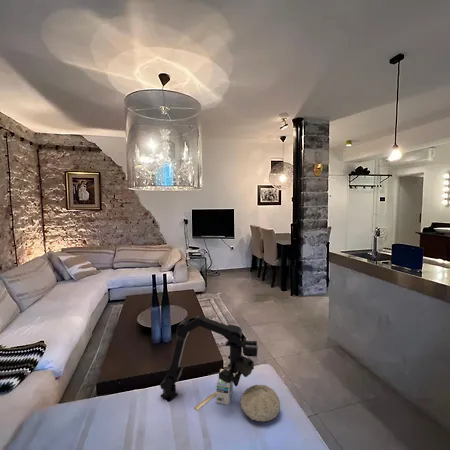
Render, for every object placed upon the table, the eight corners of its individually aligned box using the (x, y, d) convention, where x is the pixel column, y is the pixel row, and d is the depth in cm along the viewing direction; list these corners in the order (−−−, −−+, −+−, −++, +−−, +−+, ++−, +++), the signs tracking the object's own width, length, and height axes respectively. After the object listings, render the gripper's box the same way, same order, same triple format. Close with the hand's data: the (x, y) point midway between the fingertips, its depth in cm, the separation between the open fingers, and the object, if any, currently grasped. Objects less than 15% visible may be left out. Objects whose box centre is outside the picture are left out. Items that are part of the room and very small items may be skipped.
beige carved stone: (247, 431, 115) (247, 408, 114) (236, 402, 132) (235, 382, 131) (286, 423, 119) (286, 401, 118) (270, 395, 136) (270, 376, 135)
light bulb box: (229, 405, 130) (230, 384, 129) (215, 403, 131) (216, 382, 130) (232, 390, 140) (233, 370, 139) (220, 387, 141) (220, 368, 140)
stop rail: (194, 408, 128) (194, 407, 128) (229, 381, 148) (229, 380, 148) (197, 410, 127) (197, 409, 127) (232, 382, 146) (232, 381, 146)
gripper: (237, 369, 117) (237, 404, 118) (261, 351, 131) (261, 383, 132) (217, 360, 124) (218, 393, 125) (242, 344, 138) (242, 374, 139)
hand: (236, 385), depth 130 cm, fingers closed
